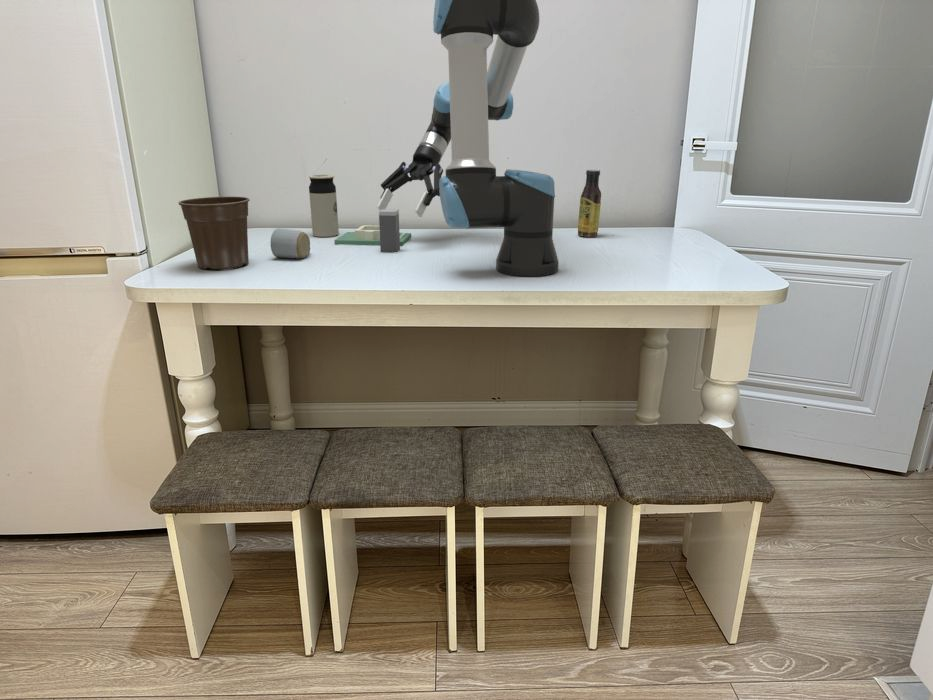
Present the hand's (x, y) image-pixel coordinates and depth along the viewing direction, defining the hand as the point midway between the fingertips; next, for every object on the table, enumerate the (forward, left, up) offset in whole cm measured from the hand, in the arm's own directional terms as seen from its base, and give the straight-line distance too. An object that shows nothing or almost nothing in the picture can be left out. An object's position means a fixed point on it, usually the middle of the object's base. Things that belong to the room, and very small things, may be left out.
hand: (398, 211), depth 180 cm
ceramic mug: (-16, +26, -10) cm, 32 cm away
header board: (+9, +10, -10) cm, 16 cm away
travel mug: (+16, +27, -10) cm, 33 cm away
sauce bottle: (+23, -54, -10) cm, 60 cm away
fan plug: (-5, +2, -10) cm, 11 cm away
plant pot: (-27, +40, -10) cm, 49 cm away
